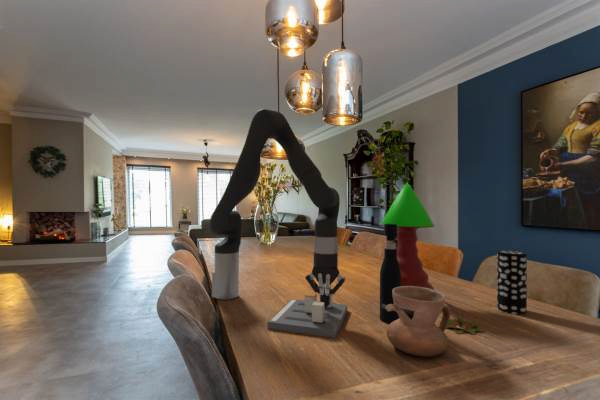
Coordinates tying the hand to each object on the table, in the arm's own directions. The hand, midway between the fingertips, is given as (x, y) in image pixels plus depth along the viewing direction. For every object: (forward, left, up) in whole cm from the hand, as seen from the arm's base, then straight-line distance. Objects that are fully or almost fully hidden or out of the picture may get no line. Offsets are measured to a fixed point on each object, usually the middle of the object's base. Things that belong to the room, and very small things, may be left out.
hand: (325, 306), depth 94 cm
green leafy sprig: (+39, +8, -5) cm, 41 cm away
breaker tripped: (-5, 0, -2) cm, 5 cm away
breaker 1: (-1, -7, -2) cm, 7 cm away
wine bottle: (+19, +7, -5) cm, 21 cm away
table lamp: (+25, +32, -5) cm, 41 cm away
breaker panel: (-5, 0, -4) cm, 6 cm away
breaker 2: (-1, +6, -2) cm, 7 cm away
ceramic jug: (+26, -10, -5) cm, 29 cm away
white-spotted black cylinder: (+59, +29, -5) cm, 66 cm away
